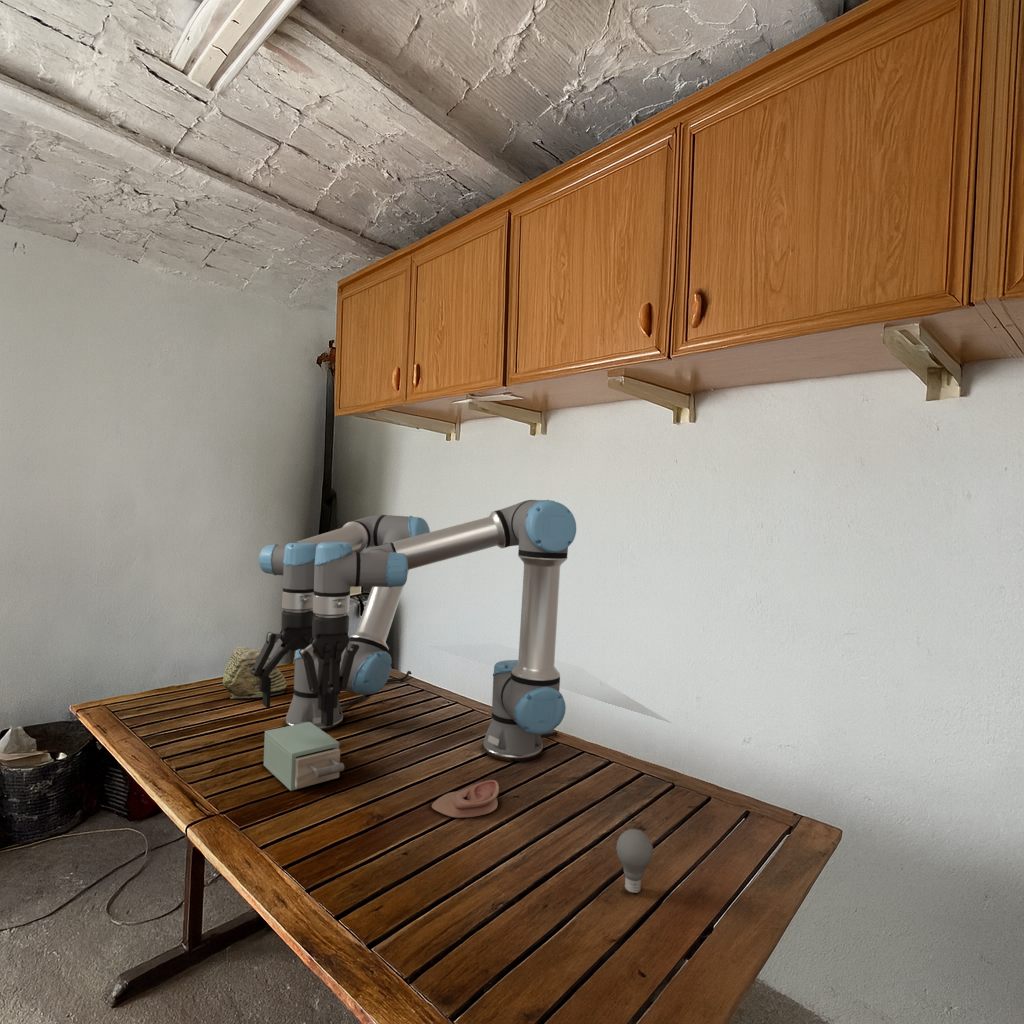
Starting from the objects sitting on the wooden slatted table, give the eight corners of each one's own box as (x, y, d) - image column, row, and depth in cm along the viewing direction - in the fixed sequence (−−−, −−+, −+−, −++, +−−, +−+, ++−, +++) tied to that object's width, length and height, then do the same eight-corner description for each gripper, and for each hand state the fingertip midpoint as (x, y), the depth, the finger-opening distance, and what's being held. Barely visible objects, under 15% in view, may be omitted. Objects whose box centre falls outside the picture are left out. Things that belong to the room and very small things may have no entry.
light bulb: (610, 879, 108) (613, 822, 108) (644, 879, 109) (647, 822, 109) (619, 902, 102) (622, 840, 102) (655, 901, 103) (658, 840, 103)
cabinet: (338, 778, 143) (339, 742, 143) (290, 791, 136) (292, 753, 136) (308, 754, 155) (309, 721, 155) (263, 765, 148) (264, 730, 148)
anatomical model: (427, 794, 128) (444, 771, 139) (426, 813, 128) (443, 788, 139) (490, 803, 125) (503, 779, 137) (489, 823, 126) (502, 797, 137)
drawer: (351, 787, 137) (353, 758, 137) (308, 799, 130) (309, 770, 130) (311, 755, 152) (312, 729, 152) (271, 765, 146) (272, 738, 146)
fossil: (218, 695, 195) (220, 647, 195) (278, 685, 208) (279, 640, 207) (228, 703, 189) (230, 653, 188) (289, 692, 201) (290, 645, 201)
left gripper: (249, 617, 136) (245, 715, 136) (355, 607, 152) (352, 695, 153) (237, 611, 142) (234, 705, 142) (342, 602, 158) (338, 687, 158)
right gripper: (309, 620, 128) (304, 736, 128) (367, 614, 137) (362, 723, 137) (294, 614, 134) (290, 725, 134) (350, 609, 142) (346, 713, 143)
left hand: (295, 700), depth 147 cm, fingers open, 13 cm apart
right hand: (326, 724), depth 136 cm, fingers closed
